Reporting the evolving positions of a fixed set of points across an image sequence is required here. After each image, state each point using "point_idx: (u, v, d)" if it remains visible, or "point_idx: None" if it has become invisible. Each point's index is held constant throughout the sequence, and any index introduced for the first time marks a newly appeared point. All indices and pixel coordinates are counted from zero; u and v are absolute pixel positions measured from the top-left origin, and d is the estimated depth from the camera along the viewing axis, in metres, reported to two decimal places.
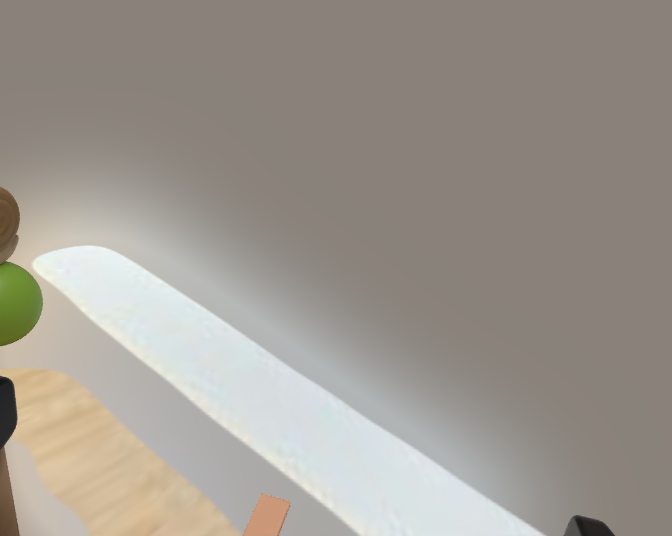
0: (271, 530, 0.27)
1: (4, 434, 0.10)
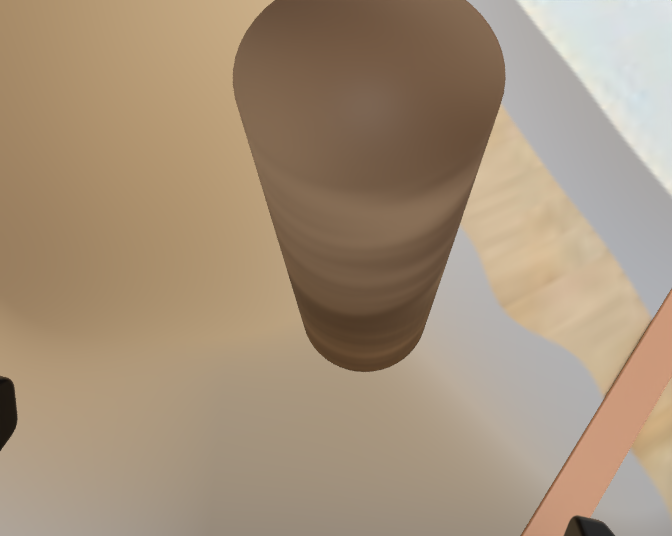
0: None
1: (4, 434, 0.10)
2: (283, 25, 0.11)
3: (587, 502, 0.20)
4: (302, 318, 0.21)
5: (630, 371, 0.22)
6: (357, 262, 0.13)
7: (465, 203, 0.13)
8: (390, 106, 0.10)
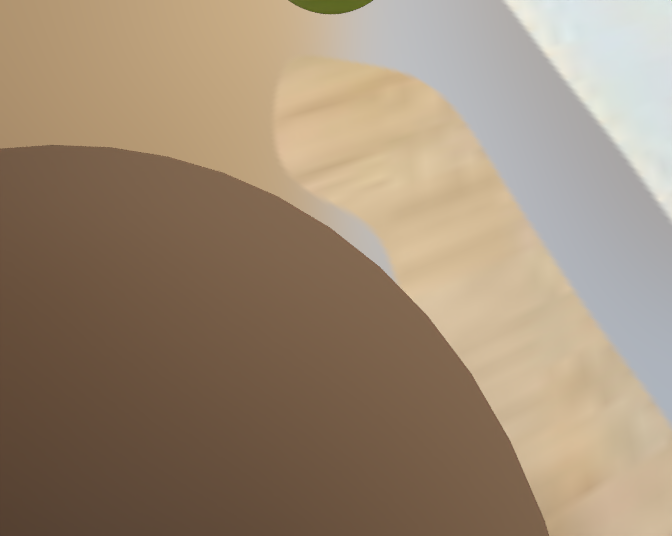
0: None
1: None
2: None
3: None
4: None
5: None
6: None
7: None
8: None
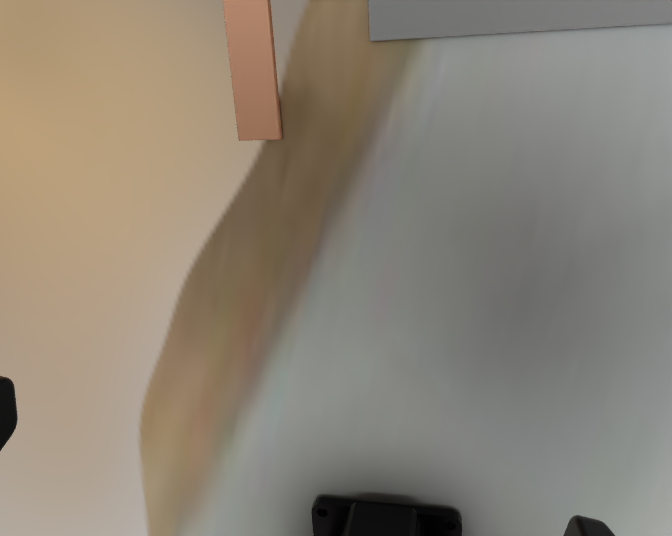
0: None
1: (4, 434, 0.10)
2: None
3: None
4: None
5: None
6: None
7: None
8: None
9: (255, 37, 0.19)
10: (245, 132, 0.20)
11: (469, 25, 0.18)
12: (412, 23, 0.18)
